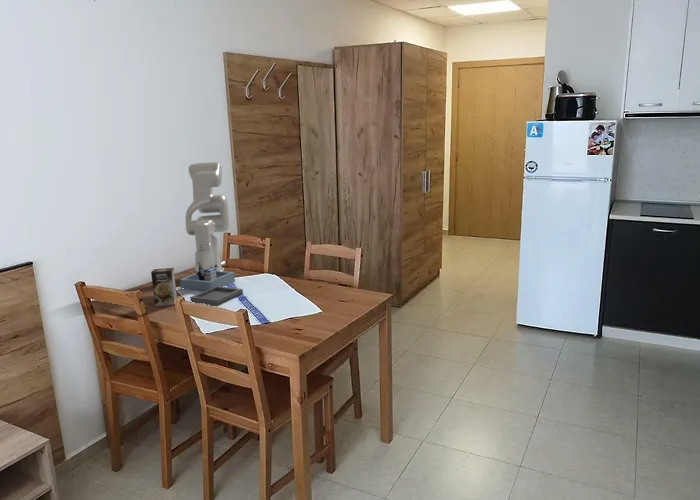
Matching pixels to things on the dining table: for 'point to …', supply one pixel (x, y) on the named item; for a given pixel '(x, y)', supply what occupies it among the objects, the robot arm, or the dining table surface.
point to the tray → (217, 295)
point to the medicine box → (210, 274)
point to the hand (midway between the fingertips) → (207, 280)
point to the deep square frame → (196, 284)
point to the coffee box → (164, 286)
